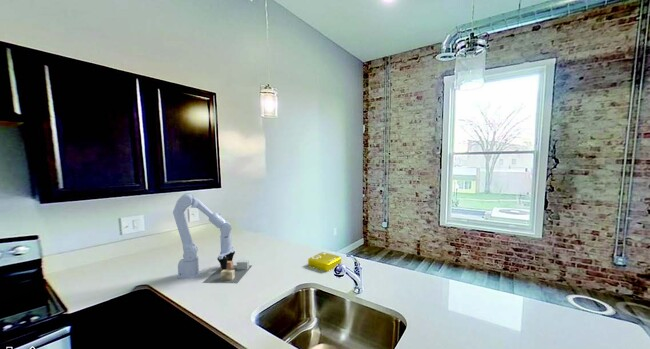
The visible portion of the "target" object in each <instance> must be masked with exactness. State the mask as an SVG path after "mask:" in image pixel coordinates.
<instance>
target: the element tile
mask: <svg viewBox="0 0 650 349" xmlns="http://www.w3.org/2000/svg"><path fill="white" fill-rule="evenodd" d="M307 263H308V264H307V265H308V267H309V266H310V267H309V268H313V267H314V268H313V269H316V268H317V269H316V270H319V269H320V271H322V270H324V271H323V272H330V271H332V270H333V269H335V268H336V267H335V266H336V265H337V264H341V265H342V257H341V256H339V255H336V254H331V253H328V252H324V251H321V252H319V253H318V254H315V255H314V256H311V257H309V258H308V259H307ZM334 267H335V268H334ZM331 269H332V270H331ZM329 270H330V271H329Z"/></svg>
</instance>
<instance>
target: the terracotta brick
mask: <svg viewBox="0 0 650 349" xmlns="http://www.w3.org/2000/svg"><path fill="white" fill-rule="evenodd" d="M219 265H220V264H219ZM233 265H234V260H232V261H227V268H226V270H231V269H232V268H233ZM219 268H221V265H220V267H219ZM221 270H222V268H221Z"/></svg>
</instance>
